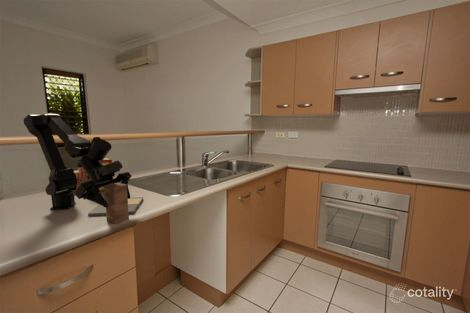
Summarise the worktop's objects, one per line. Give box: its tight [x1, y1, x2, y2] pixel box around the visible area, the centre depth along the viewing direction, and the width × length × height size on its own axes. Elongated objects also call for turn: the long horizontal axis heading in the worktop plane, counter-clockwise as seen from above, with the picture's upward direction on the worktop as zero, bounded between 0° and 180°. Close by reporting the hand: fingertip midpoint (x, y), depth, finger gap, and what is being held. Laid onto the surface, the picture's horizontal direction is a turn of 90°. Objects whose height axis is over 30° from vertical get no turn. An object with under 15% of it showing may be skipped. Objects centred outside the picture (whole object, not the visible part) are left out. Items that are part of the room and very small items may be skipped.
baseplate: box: [87, 197, 144, 217], centre depth 93 cm, size 16×16×1 cm
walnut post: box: [104, 183, 130, 225], centre depth 80 cm, size 5×5×13 cm
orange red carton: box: [72, 167, 88, 192], centre depth 117 cm, size 21×6×12 cm, turn 139°
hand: (119, 202), depth 79 cm, fingers open, 9 cm apart
